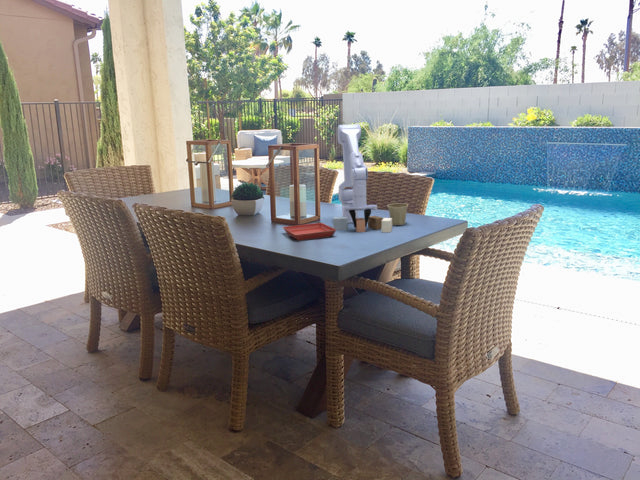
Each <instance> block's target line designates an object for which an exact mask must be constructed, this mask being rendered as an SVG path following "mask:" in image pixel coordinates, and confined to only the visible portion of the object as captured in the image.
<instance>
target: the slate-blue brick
mask: <svg viewBox="0 0 640 480" xmlns="http://www.w3.org/2000/svg"><path fill="white" fill-rule="evenodd" d="M348 224H349V223H348V218H347V217H343V216H334V217H333V218H332V225H333V227H332V228H334V229H336V231H339V230H340V231H344V230H345V231H346V230H348V227H349V226H348Z"/></svg>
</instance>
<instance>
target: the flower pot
mask: <svg viewBox="0 0 640 480" xmlns="http://www.w3.org/2000/svg"><path fill="white" fill-rule="evenodd" d="M386 207H387V209H388V212H389V218H392V226H404V225H405V224H406V219H407V218H406V217H407V211H408V207H409V204H407V203H401V202H400V203H390V204H389V203H388V204H387V205H386Z"/></svg>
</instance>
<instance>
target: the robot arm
mask: <svg viewBox="0 0 640 480" xmlns="http://www.w3.org/2000/svg"><path fill="white" fill-rule="evenodd" d="M336 133H337V135H336V137H337V143H338V144H339V145H341V148H342V158H343V159H342V161H343V176H344V177H343V178H344V179H343V180H344V181H342V183H340V184H339V186H338V200H339V202H340V203H342V206H341V207H342V217H347V218H348V224H349V223H353V228H354V229H355V228H356V218H359V211H363V216H364V217H363V218H364V220H365V228H368V219H369V216H371V214H372V211H377V210H378V204H367V181H368V177H369V171H368V166H367V165H366V164H364V163H365V161H364V157H363V154H362V153H361V152H360V151H359V149H360V148H359V141H360V139H361V135H362V127H361V125H360V124H359V123H356V124H353V123H352V124H338V126H337V131H336Z"/></svg>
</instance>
